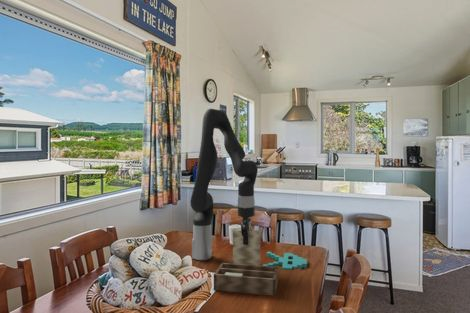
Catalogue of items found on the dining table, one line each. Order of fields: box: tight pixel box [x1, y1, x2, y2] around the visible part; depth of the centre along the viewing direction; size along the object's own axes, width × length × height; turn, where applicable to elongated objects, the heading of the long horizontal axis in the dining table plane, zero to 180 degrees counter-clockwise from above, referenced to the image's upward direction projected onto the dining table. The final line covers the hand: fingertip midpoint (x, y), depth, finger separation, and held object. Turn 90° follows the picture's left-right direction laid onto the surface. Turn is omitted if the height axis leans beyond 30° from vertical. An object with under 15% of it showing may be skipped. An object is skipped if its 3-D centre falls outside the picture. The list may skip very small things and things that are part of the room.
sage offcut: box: [224, 272, 243, 276], centre depth 131 cm, size 7×4×5 cm, turn 78°
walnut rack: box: [213, 262, 279, 296], centre depth 133 cm, size 24×13×7 cm, turn 78°
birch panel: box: [232, 229, 261, 266], centre depth 149 cm, size 12×3×15 cm, turn 79°
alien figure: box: [262, 251, 308, 271], centre depth 159 cm, size 20×2×20 cm
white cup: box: [228, 224, 242, 246], centre depth 191 cm, size 8×8×10 cm
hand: (246, 243), depth 149 cm, fingers closed on birch panel, 3 cm apart
